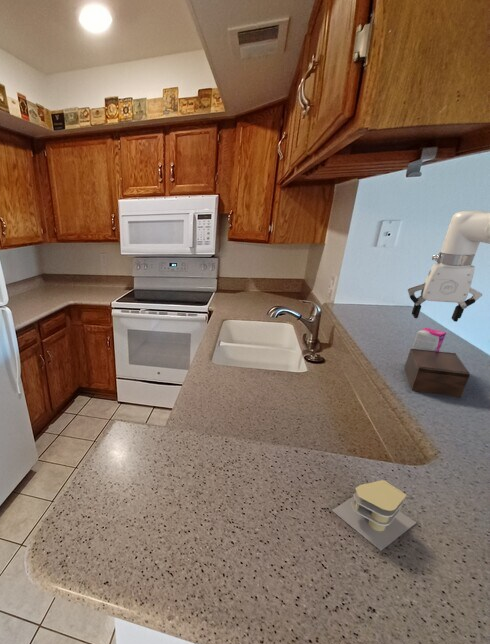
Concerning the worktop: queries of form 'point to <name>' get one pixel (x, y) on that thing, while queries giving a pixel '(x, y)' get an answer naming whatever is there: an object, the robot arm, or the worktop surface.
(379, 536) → the stacked layers on plate
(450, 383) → the dark wooden box
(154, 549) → the worktop surface
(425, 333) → the supplement box
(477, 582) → the worktop surface
